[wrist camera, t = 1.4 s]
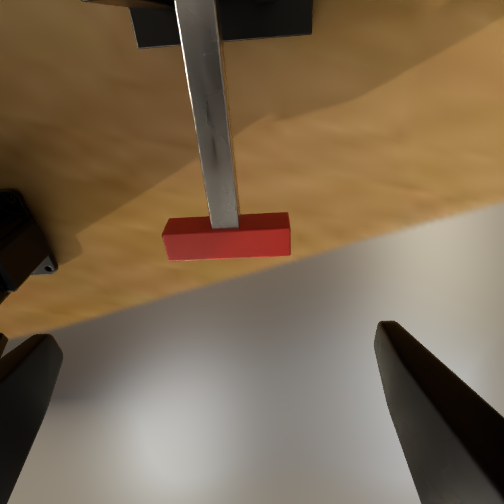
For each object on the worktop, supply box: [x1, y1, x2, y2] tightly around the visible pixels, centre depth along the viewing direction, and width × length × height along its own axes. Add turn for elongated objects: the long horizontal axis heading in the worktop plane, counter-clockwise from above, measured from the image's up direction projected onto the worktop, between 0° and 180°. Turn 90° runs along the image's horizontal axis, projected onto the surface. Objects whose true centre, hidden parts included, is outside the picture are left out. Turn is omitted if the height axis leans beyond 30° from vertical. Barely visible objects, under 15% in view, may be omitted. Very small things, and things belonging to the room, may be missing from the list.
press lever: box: [162, 0, 291, 261], centre depth 10 cm, size 12×5×2 cm, turn 4°
